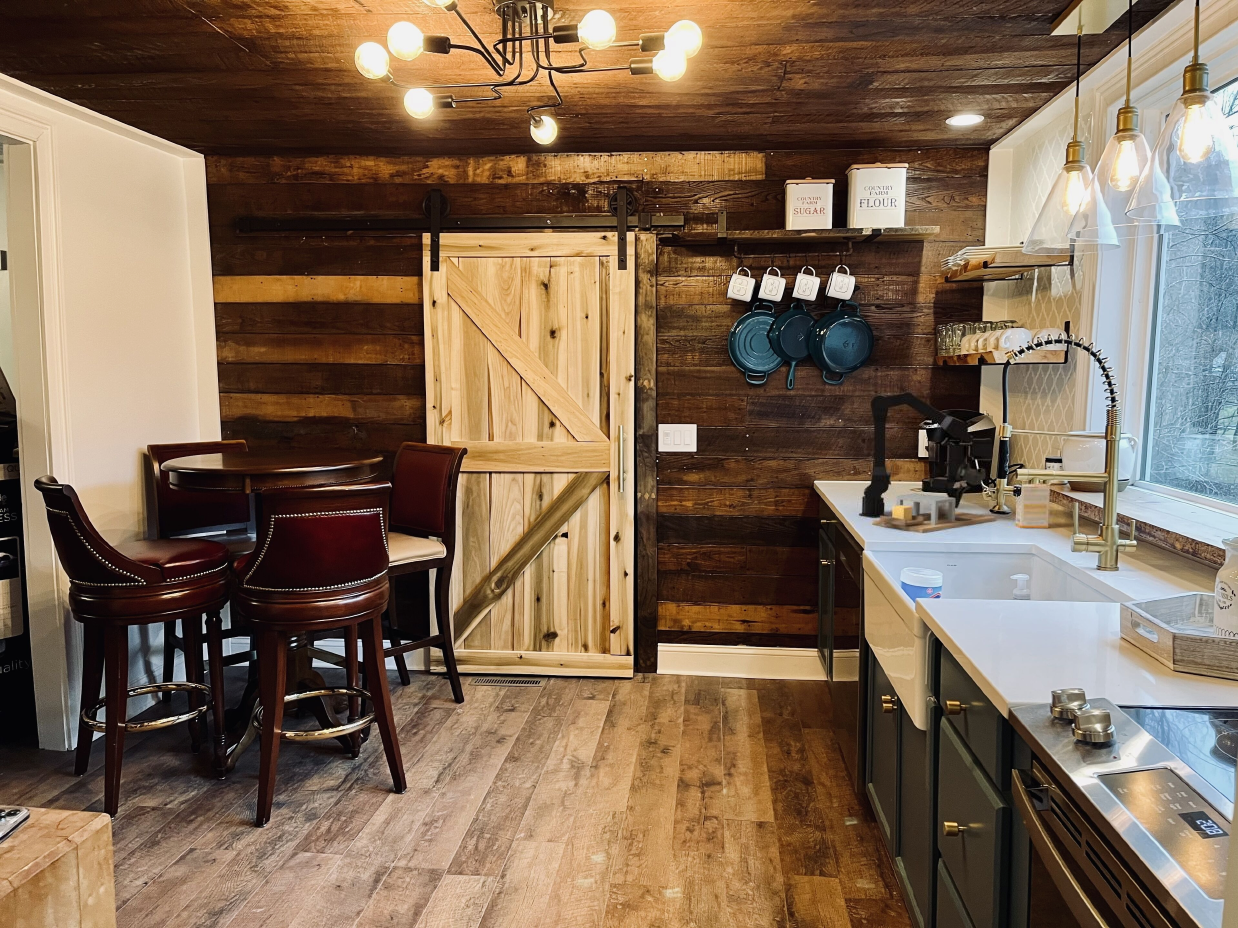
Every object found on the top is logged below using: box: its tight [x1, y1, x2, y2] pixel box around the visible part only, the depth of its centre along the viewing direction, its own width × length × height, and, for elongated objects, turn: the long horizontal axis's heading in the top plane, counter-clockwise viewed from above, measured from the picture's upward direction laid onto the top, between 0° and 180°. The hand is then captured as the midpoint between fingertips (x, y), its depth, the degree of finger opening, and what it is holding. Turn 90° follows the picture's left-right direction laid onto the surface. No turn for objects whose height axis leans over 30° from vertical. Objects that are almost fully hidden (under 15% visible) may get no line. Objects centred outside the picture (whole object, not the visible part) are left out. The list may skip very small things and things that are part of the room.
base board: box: [871, 510, 997, 534], centre depth 272 cm, size 18×38×1 cm, turn 125°
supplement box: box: [1015, 483, 1051, 529], centre depth 264 cm, size 8×5×13 cm, turn 84°
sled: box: [879, 495, 951, 526], centre depth 268 cm, size 9×26×6 cm, turn 125°
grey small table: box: [895, 493, 956, 525], centre depth 269 cm, size 14×10×8 cm
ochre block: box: [891, 504, 913, 521], centre depth 263 cm, size 4×4×4 cm
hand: (955, 508), depth 278 cm, fingers closed
